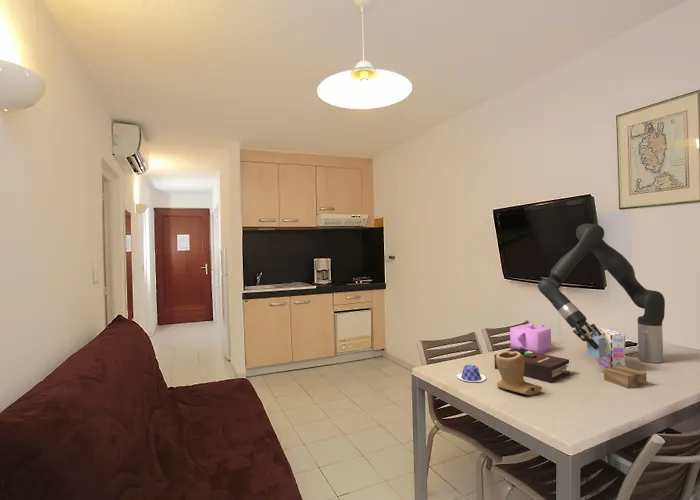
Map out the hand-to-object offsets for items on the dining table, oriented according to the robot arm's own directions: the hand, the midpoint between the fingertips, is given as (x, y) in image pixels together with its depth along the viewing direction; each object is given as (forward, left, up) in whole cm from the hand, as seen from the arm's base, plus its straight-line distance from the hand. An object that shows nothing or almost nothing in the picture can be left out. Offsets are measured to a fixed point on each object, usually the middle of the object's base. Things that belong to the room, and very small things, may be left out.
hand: (600, 346), depth 167 cm
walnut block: (+2, +10, -12) cm, 16 cm away
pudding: (+48, -28, -12) cm, 57 cm away
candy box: (-14, -3, -12) cm, 19 cm away
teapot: (-11, -41, -12) cm, 44 cm away
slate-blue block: (0, -2, -4) cm, 5 cm away
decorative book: (+20, -19, -13) cm, 30 cm away
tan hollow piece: (+45, -8, -12) cm, 47 cm away
